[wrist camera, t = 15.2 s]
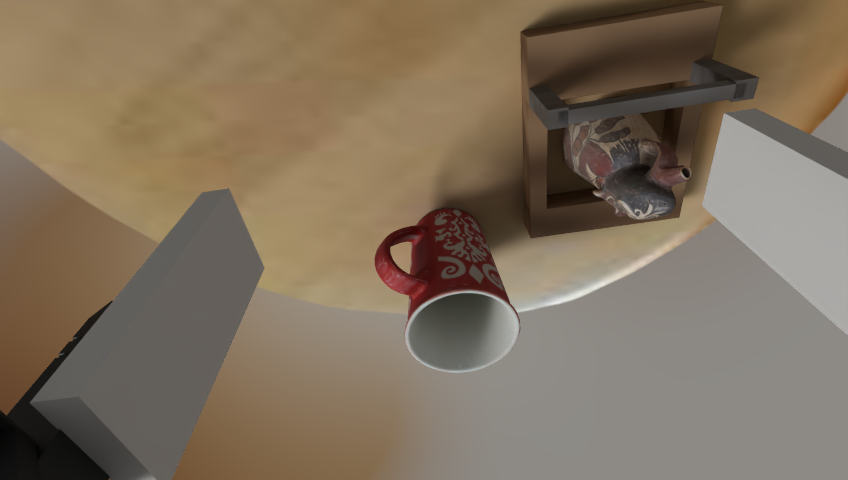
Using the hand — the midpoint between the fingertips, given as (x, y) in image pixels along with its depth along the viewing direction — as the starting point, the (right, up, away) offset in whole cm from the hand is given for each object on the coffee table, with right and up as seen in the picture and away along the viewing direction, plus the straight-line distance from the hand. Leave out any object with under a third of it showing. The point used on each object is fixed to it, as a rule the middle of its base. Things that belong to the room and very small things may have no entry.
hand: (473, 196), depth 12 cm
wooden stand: (+14, +9, +27) cm, 32 cm away
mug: (0, 0, +32) cm, 32 cm away
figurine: (+14, +8, +28) cm, 32 cm away
